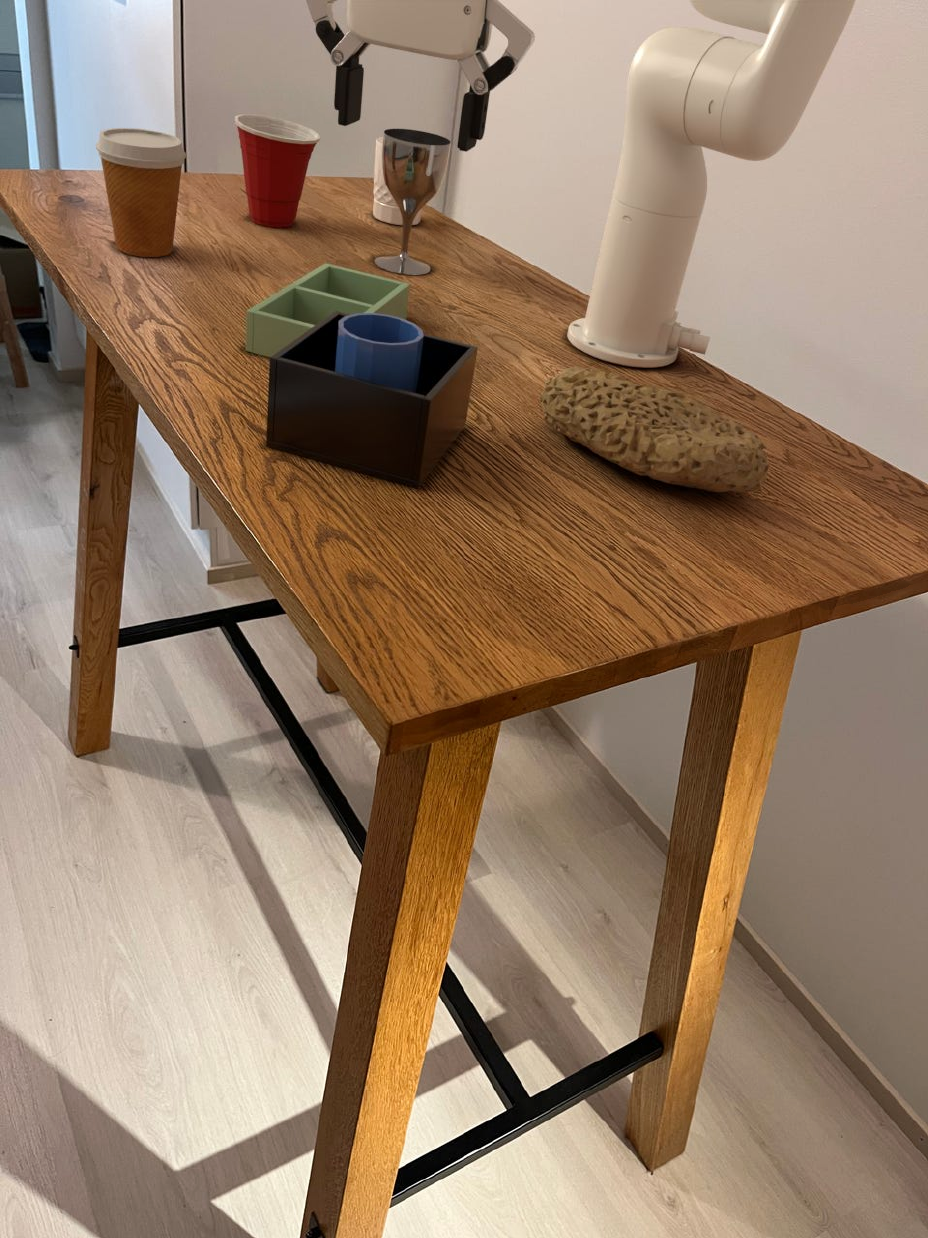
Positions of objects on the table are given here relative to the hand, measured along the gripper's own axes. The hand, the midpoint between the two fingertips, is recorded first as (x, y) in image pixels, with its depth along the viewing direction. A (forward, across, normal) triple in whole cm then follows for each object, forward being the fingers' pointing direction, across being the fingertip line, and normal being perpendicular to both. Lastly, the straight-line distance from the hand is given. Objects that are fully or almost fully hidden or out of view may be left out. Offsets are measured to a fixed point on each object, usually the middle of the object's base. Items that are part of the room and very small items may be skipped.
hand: (407, 135), depth 79 cm
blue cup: (+22, -1, +6) cm, 23 cm away
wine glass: (+24, +12, -42) cm, 50 cm away
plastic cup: (+24, +32, -48) cm, 62 cm away
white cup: (+24, +20, -62) cm, 70 cm away
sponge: (+23, -24, -2) cm, 34 cm away
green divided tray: (+23, +10, -14) cm, 29 cm away
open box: (+23, -1, +6) cm, 24 cm away
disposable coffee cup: (+23, +38, -26) cm, 52 cm away
